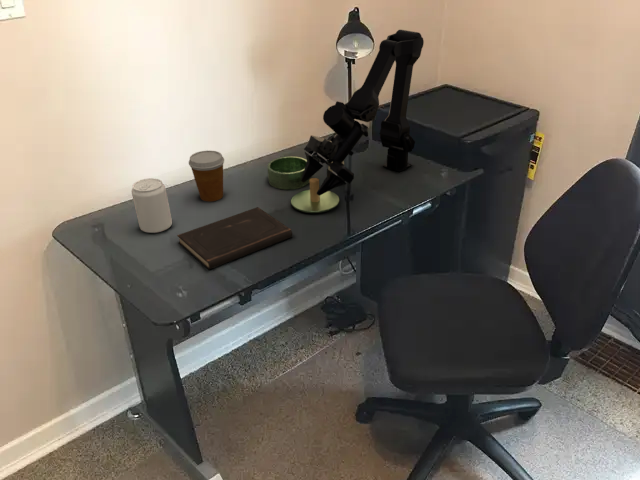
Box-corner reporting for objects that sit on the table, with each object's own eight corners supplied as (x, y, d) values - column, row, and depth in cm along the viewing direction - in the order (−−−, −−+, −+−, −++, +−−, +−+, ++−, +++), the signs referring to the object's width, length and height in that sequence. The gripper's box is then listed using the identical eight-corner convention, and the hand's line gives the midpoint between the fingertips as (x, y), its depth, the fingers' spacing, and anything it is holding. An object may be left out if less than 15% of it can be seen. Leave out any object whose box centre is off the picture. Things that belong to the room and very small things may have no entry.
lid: (315, 188, 175) (313, 165, 172) (349, 202, 168) (348, 178, 164) (281, 204, 167) (279, 181, 163) (315, 220, 160) (314, 195, 156)
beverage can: (178, 222, 159) (170, 180, 153) (160, 236, 153) (151, 193, 146) (152, 217, 161) (143, 175, 155) (133, 231, 155) (123, 189, 148)
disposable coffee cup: (187, 200, 169) (180, 160, 163) (207, 186, 177) (201, 147, 170) (216, 206, 166) (210, 166, 160) (235, 192, 174) (230, 152, 167)
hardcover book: (178, 243, 150) (177, 235, 149) (258, 214, 163) (257, 206, 161) (210, 270, 140) (208, 262, 139) (292, 238, 152) (292, 230, 151)
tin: (290, 168, 187) (289, 153, 184) (319, 179, 180) (318, 163, 178) (260, 181, 179) (258, 165, 177) (288, 193, 173) (287, 177, 170)
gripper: (308, 113, 164) (274, 160, 165) (343, 136, 151) (305, 186, 152) (335, 136, 172) (302, 180, 173) (369, 159, 158) (333, 207, 160)
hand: (309, 188), depth 164 cm, fingers open, 9 cm apart
